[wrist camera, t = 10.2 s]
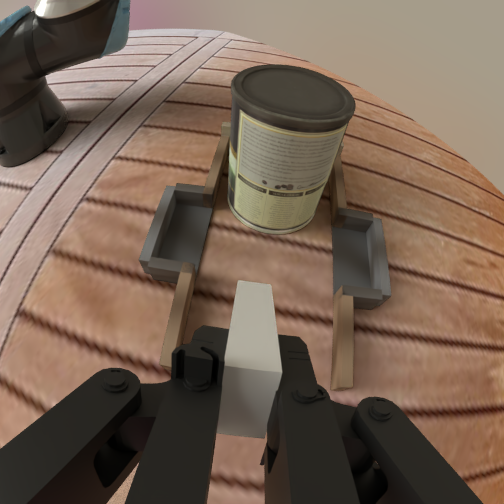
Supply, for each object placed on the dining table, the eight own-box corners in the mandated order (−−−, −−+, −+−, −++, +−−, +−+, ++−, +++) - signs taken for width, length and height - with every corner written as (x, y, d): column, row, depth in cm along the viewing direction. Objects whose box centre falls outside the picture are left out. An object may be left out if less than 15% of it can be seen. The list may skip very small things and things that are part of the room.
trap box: (381, 390, 23) (404, 384, 19) (121, 358, 23) (105, 347, 19) (361, 170, 38) (371, 148, 34) (192, 143, 37) (191, 118, 34)
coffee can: (210, 183, 34) (210, 72, 22) (283, 158, 37) (304, 60, 25) (257, 251, 29) (280, 132, 18) (334, 214, 33) (380, 111, 21)
